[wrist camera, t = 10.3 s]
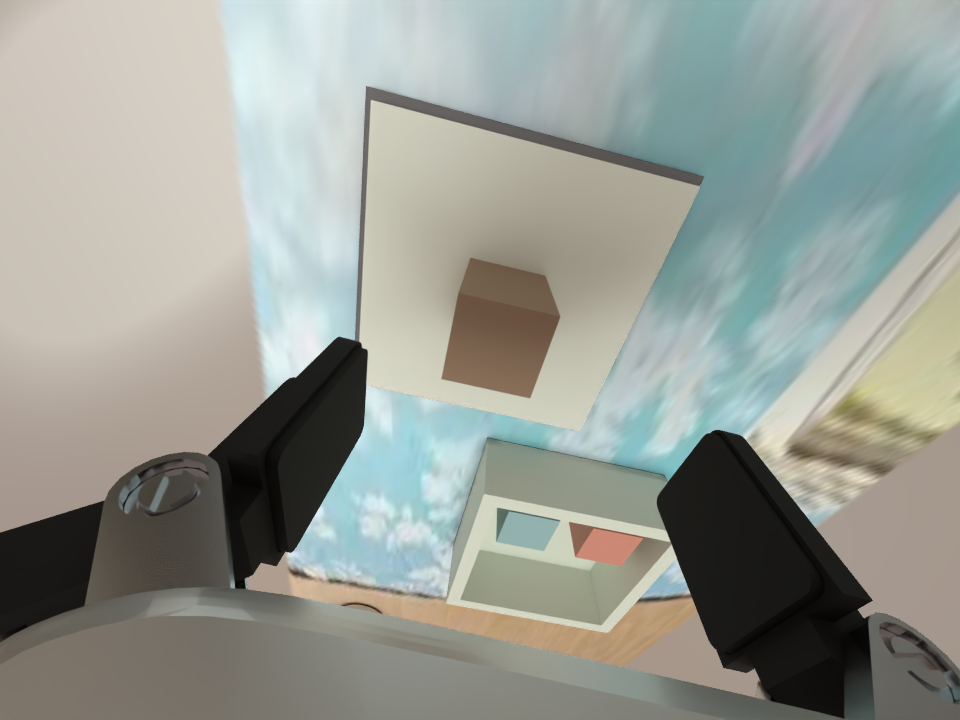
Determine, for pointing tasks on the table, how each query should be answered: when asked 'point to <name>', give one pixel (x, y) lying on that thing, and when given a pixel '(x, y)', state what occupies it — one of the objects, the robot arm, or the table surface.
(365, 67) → the table surface
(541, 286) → the lid
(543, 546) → the teal block
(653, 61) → the table surface
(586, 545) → the red block
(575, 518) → the box
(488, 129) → the mat
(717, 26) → the table surface
